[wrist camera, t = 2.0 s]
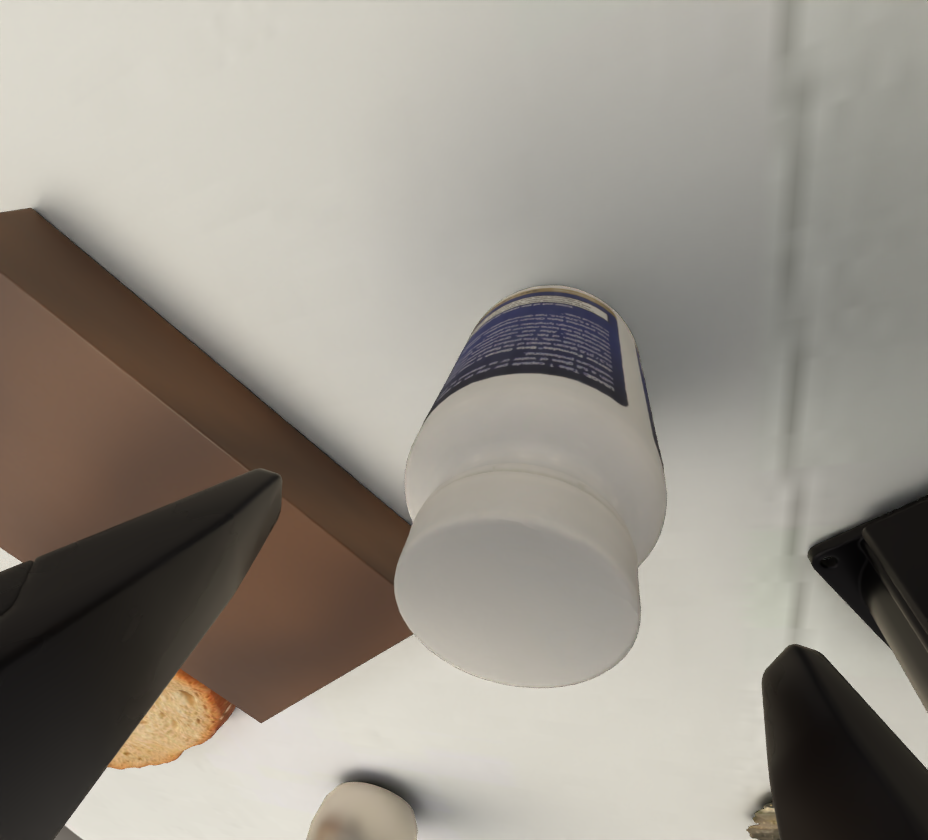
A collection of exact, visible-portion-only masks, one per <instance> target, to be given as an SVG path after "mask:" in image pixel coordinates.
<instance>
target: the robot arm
mask: <svg viewBox="0 0 928 840" xmlns="http://www.w3.org/2000/svg"><path fill="white" fill-rule="evenodd" d="M281 502H282V477H281V476H280V475H279V474H278V473H275V472H271V471H268V470H265V469H262V468H258V469H254V470H252V471H249V472H247V473H244V474H242V475H239V476H237V477H234V478H232V479H229V480H227V481H225V482H222V483H220V484H217V485H215V486H212V487H210V488H207V489H205V490H202V491H200V492H197V493H195V494H192V495H190V496H187V497H185V498H182V499H180V500H178V501H175V502H173V503H170V504H168V505H165V506H163V507H160V508H158V509H155V510H153V511H150V512H148V513H145V514H143V515H140V516H138V517H136V518H133V519H131V520H128V521H126V522H123V523H121V524H118V525H116V526H113V527H111V528H108V529H106V530H103V531H101V532H98V533H96V534H93V535H91V536H89V537H86V538H84V539H81V540H79V541H76V542H74V543H71V544H69V545H66V546H64V547H61V548H59V549H56V550H54V551H51V552H49V553H46V554H44V555H42V556H39V557H37V558H36V559H35V560H34V561H32V560H29V561H26V562H24V563H21V564H19V565H16V566H14V567H11V568H9V569H6V570H4V571H2V572H0V840H54V838H55V837H56V836H57V834H58V833H59V832H60V830H61V829H62V828H63V826H64V825H65V823H66V822H67V821H68V819H69V818H70V817H71V815H72V814H73V813H74V811H75V810H76V809H77V807H78V806H79V804H80V803H81V802H82V800H83V799H84V798H85V796H86V795H87V794H88V792H89V791H90V790H91V788H92V787H93V786H94V784H95V783H96V781H97V780H98V779H99V777H100V776H101V775H102V773H103V772H104V771H105V769H106V768H107V767H108V765H109V764H110V762H111V761H112V760H113V758H114V757H115V756H116V754H117V753H118V752H119V750H120V749H121V748H122V746H123V745H124V744H125V742H126V741H127V739H128V738H129V737H130V735H131V734H132V733H133V731H134V730H135V729H136V727H137V726H138V725H139V723H140V722H141V720H142V719H143V718H144V716H145V715H146V714H147V712H148V711H149V710H150V708H151V707H152V706H153V704H154V703H155V702H156V700H157V699H158V697H159V696H160V695H161V693H162V692H163V691H164V689H165V688H166V687H167V685H168V684H169V683H170V681H171V680H172V678H173V677H174V676H175V674H176V673H177V672H178V670H179V669H180V668H181V666H182V665H183V664H184V662H185V661H186V660H187V658H188V657H189V655H190V654H191V653H192V651H193V650H194V649H195V647H196V646H197V645H198V643H199V642H200V641H201V639H202V638H203V636H204V635H205V634H206V632H207V631H208V630H209V628H210V627H211V626H212V624H213V623H214V622H215V620H216V619H217V618H218V616H219V615H220V613H221V612H222V611H223V609H224V608H225V607H226V605H227V604H228V602H229V601H230V600H231V598H232V597H233V595H234V594H235V592H236V591H237V589H238V587H239V586H240V584H241V582H242V581H243V579H244V577H245V575H246V574H247V572H248V570H249V569H250V567H251V565H252V563H253V562H254V560H255V558H256V557H257V555H258V553H259V551H260V550H261V548H262V546H263V545H264V543H265V541H266V539H267V538H268V536H269V534H270V533H271V531H272V529H273V527H274V526H275V524H276V522H277V520H278V518H279V515H280V512H281ZM825 557H830V558H829V559H825V560H824V559H823V558H825ZM808 558H809V560H810V562H811V564H812V566H813V568H814V569H815V570H816V571H817V572H818V573H819V574H820V575H821V576H822V578H823V579H824V580H825V581H826V582H827V583H828V584H829V585H830V586H831V587H832V588H833V589H834V590H835V591H836V592H837V593H838V594H839V595H840V596H841V597H842V598H843V600H844V601H845V602H846V603H847V604H848V605H849V606H850V607H851V608H852V609H853V610H854V611H855V612H856V613H857V614H858V615H859V616H860V617H861V618H862V619H863V620H864V621H865V623H866V624H867V625H868V626H869V627H870V628H871V629H872V630H873V631H874V632H875V633H876V634H877V635H878V636H879V637H880V638H881V639H882V640H883V641H884V642H885V643H886V644H887V646H888V647H889V648H890V649H891V650H892V651H893V653H894V655H895V656H896V658H897V660H898V662H899V663H900V665H901V667H902V669H903V670H904V672H905V674H906V676H907V677H908V679H909V681H910V683H911V684H912V686H913V688H914V690H915V691H916V693H917V695H918V697H919V698H920V700H921V702H922V704H923V705H924V707H925V709H926V711H927V712H928V495H927V496H925V497H922V498H920V499H918V500H916V501H913V502H911V503H909V504H907V505H904V506H902V507H900V508H898V509H895V510H893V511H891V512H889V513H887V514H884V515H882V516H880V517H878V518H875V519H873V520H871V521H869V522H866V523H864V524H862V525H860V526H857V527H855V528H853V529H851V530H848V531H846V532H844V533H842V534H839V535H837V536H835V537H833V538H830V539H828V540H826V541H824V542H821V543H819V544H817V545H815V546H813V547H812V548H811V549H810V550H809V552H808ZM762 695H763V708H764V721H765V734H766V747H767V760H768V770H769V779H770V786H771V792H772V799H773V804H774V810H775V815H776V821H777V827H778V832H779V838H780V840H928V770H927V769H926V768H925V766H924V765H923V764H922V763H921V762H920V761H919V760H918V759H917V758H916V757H915V755H914V754H913V753H912V752H911V751H910V750H909V749H908V748H907V747H906V745H905V744H904V743H903V742H902V741H901V740H900V739H899V738H898V737H897V736H896V734H895V733H894V732H893V731H892V730H891V729H890V728H889V727H888V726H887V725H886V723H885V722H884V721H883V720H882V719H881V718H880V717H879V716H878V715H877V714H876V712H875V711H874V710H873V709H872V708H871V707H870V706H869V705H868V704H867V702H866V701H865V700H864V699H863V698H862V697H861V696H860V695H859V694H858V693H857V691H856V690H855V689H854V688H853V687H852V686H851V685H850V684H849V683H848V682H847V680H846V679H845V678H844V677H843V676H842V675H841V674H840V673H839V672H838V671H837V669H836V668H835V667H834V666H833V665H832V664H831V663H830V662H829V661H828V659H827V658H826V657H825V656H824V655H823V654H821V653H820V652H818V651H816V650H813V649H810V648H807V647H804V646H801V645H798V644H792V645H789V646H788V647H786V648H785V650H784V651H783V652H782V653H781V654H780V655H779V656H778V657H777V658H776V659H775V660H774V661H773V662H772V663H771V664H770V666H769V667H768V668H767V669H766V670H765V672H764V674H763V678H762Z"/></svg>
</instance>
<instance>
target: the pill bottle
mask: <svg viewBox="0 0 928 840" xmlns="http://www.w3.org/2000/svg"><path fill="white" fill-rule="evenodd" d="M404 485H405V497H406V502H407V508H408V511H409V514H410V517H411V520H412V522H413V524H412V526H411V529H410V532H409V536H408V538H407V541H406V543H405V546H404V548H403V550H402V553H401V555H400V558H399V561H398V564H397V567H396V572H395V578H394V593H395V598H396V602H397V605H398V608H399V611H400V614H401V616H402V618H403V619H404V621H405V623H406V624H407V626H408V627H409V629H410V630H411V631H412V633H413V634H414V635H415V636H416V637H417V638H418V640H419V641H420V642H421V643H422V644H423V645H424V646H425V647H426V648H428V649H429V650H430V651H431V652H433V653H434V654H435V655H437V656H438V657H439V658H441V659H442V660H444V661H446V662H447V663H449V664H451V665H452V666H454V667H456V668H458V669H460V670H462V671H464V672H466V673H469V674H471V675H474V676H476V677H479V678H482V679H485V680H489V681H493V682H496V683H500V684H505V685H511V686H516V687H529V688H552V687H563V686H567V685H574V684H578V683H581V682H584V681H587V680H590V679H592V678H595V677H597V676H599V675H601V674H603V673H604V672H606V671H608V670H610V669H611V668H613V667H614V666H615V665H616V664H618V663H619V662H620V661H621V660H622V659H623V658H624V657H625V656H626V654H627V653H628V652H629V650H630V649H631V648H632V646H633V644H634V642H635V640H636V638H637V634H638V630H639V626H640V617H641V606H640V595H639V582H638V567H639V565H640V564H641V563H642V562H643V561H644V560H645V559H646V558H647V557H648V555H649V554H650V552H651V551H652V549H653V548H654V546H655V544H656V542H657V540H658V538H659V536H660V533H661V530H662V527H663V524H664V519H665V515H666V506H667V491H666V483H665V476H664V467H663V462H662V458H661V453H660V449H659V446H658V440H657V436H656V432H655V427H654V422H653V417H652V412H651V407H650V403H649V399H648V394H647V389H646V383H645V378H644V373H643V370H642V365H641V360H640V356H639V352H638V349H637V346H636V343H635V340H634V338H633V336H632V334H631V332H630V330H629V328H628V326H627V325H626V323H625V322H624V320H623V319H622V318H621V317H620V316H619V314H618V313H617V312H616V311H614V310H613V309H612V308H611V307H610V306H609V305H607V304H606V303H605V302H603V301H602V300H600V299H599V298H597V297H595V296H593V295H591V294H589V293H587V292H584V291H582V290H578V289H575V288H571V287H566V286H558V285H546V286H537V287H531V288H527V289H524V290H521V291H518V292H516V293H513V294H511V295H509V296H507V297H506V298H504V299H502V300H501V301H499V302H498V303H497V304H495V305H494V306H493V307H492V308H491V309H490V310H489V311H488V312H487V313H486V314H485V315H484V316H483V317H482V318H481V320H480V321H479V323H478V324H477V325H476V327H475V328H474V330H473V332H472V333H471V335H470V337H469V339H468V341H467V343H466V345H465V347H464V349H463V351H462V352H461V354H460V356H459V358H458V360H457V362H456V364H455V366H454V368H453V370H452V371H451V373H450V375H449V377H448V379H447V381H446V383H445V384H444V386H443V388H442V390H441V392H440V394H439V395H438V397H437V399H436V401H435V403H434V405H433V406H432V408H431V410H430V412H429V413H428V415H427V417H426V419H425V421H424V423H423V425H422V427H421V429H420V431H419V433H418V434H417V437H416V439H415V441H414V443H413V445H412V447H411V450H410V453H409V456H408V459H407V464H406V469H405V480H404Z"/></svg>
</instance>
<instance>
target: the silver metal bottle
mask: <svg viewBox="0 0 928 840" xmlns="http://www.w3.org/2000/svg"><path fill="white" fill-rule="evenodd" d="M417 834H418V828H417V823H416V819H415V815H414V811H413V809H412V808H411V806H410V805H409V804H408V803H407V802H406V801H405V800H404V799H402V798H401V797H399V796H398V795H396V794H394V793H393V792H391V791H389V790H386V789H384V788H382V787H379V786H376V785H372V784H368V783H362V782H346V783H343V784H340V785H339V786H337V787H336V788H335V789H334V790H333V791H331V792H330V793H329V794H328V795H327V796H326V797H325V799H324V800H323V802H322V804H321V806H320V808H319V809H318V811H317V813H316V815H315V816H314V818H313V820H312V822H311V825H310V828H309V832H308V835H307V839H306V840H417Z"/></svg>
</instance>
